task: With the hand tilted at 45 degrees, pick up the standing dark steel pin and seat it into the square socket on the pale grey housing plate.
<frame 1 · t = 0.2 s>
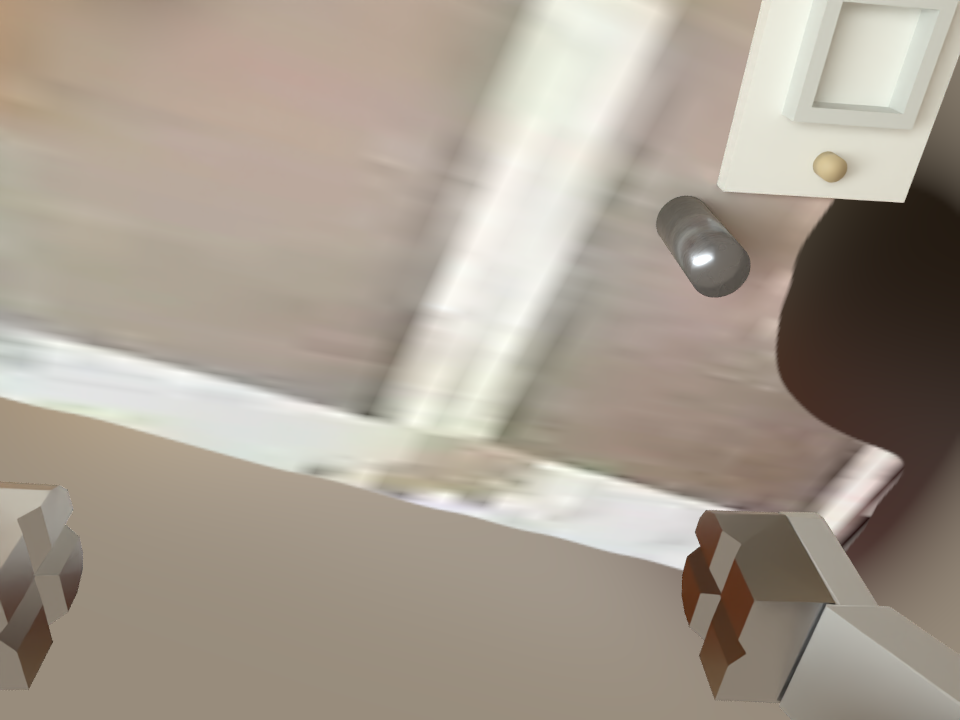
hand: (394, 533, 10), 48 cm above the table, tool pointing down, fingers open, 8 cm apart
housing: (849, 50, 54), on the table
pin: (682, 221, 60), on the table
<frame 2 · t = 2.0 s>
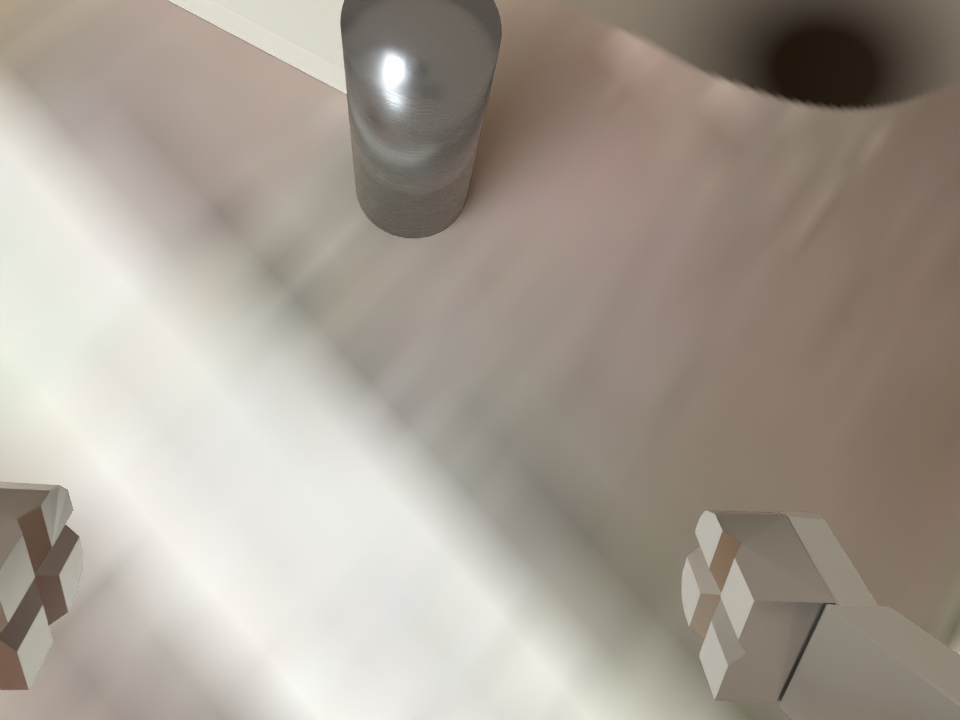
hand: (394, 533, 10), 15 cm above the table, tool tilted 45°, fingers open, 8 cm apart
pin: (411, 186, 28), on the table
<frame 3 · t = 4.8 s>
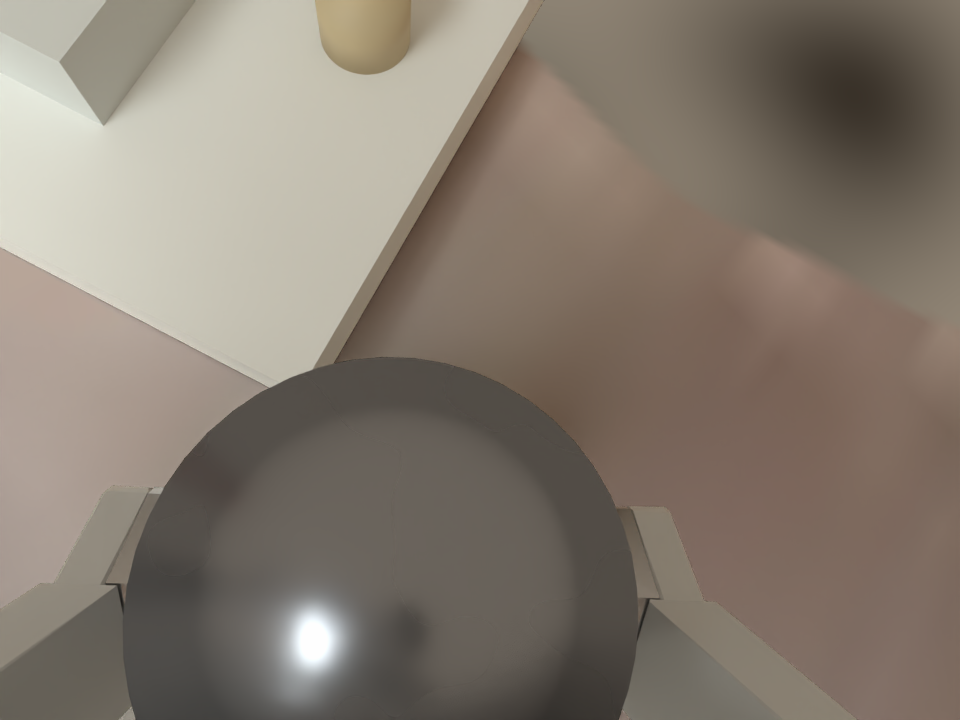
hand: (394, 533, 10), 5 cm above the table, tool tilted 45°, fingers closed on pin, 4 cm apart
pin: (394, 572, 15), on the table, touching gripper
when the fingers open (8 cm above the table, at t = 9.3 s): pin drops 1 cm, resting on housing.
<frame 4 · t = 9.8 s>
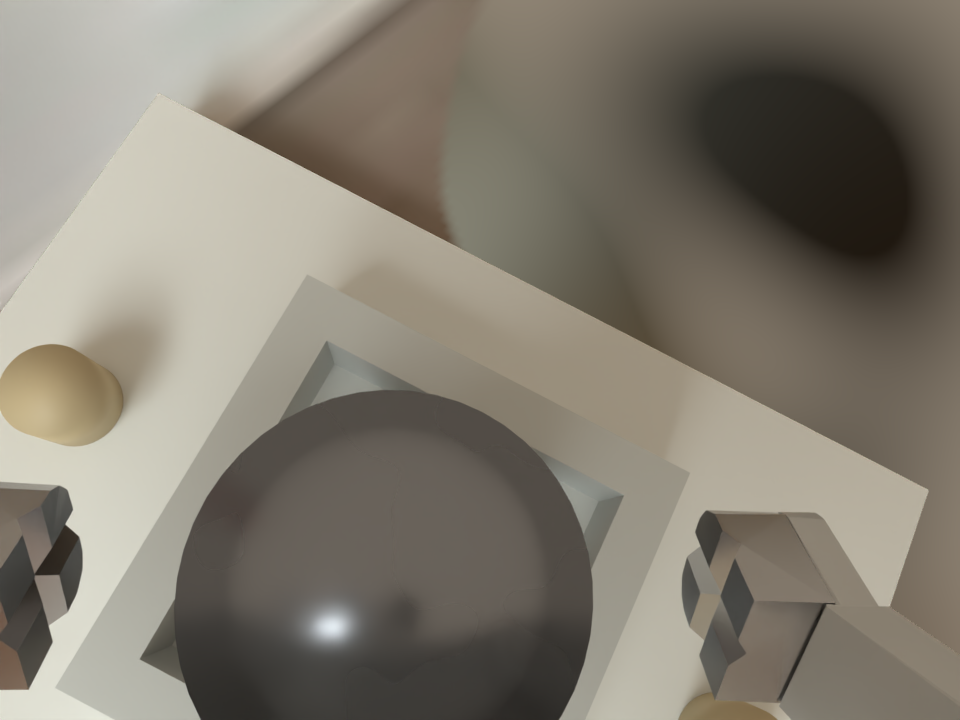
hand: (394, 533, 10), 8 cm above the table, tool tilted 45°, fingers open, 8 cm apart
housing: (395, 568, 18), on the table
pin: (392, 568, 16), point 2 cm above the table, touching housing
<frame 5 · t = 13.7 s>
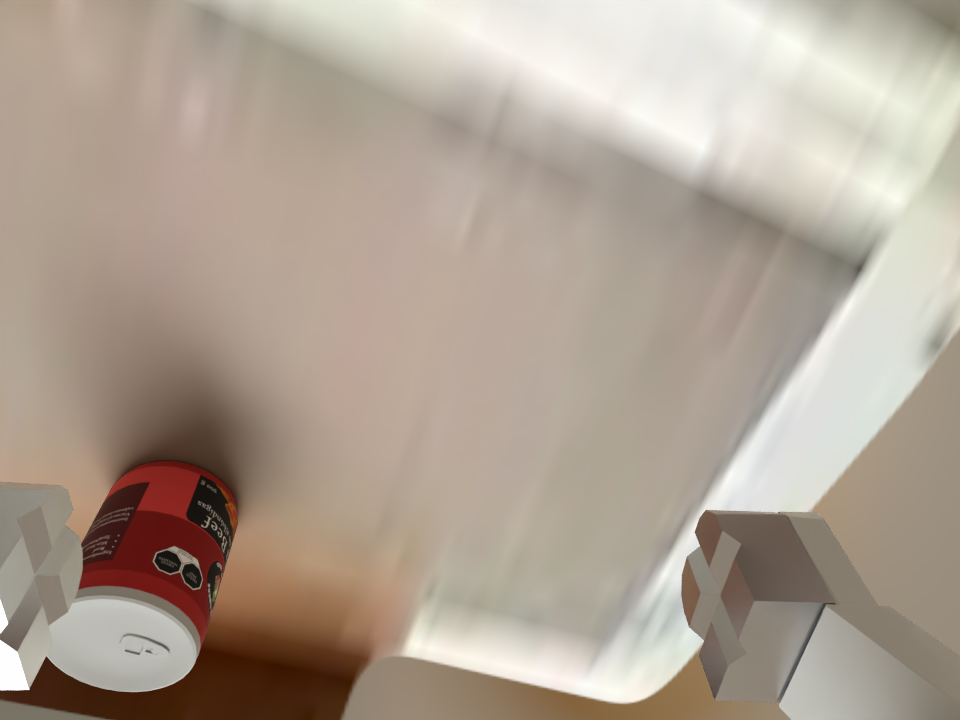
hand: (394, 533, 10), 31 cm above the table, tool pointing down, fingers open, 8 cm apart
canned food: (178, 501, 50), on the table
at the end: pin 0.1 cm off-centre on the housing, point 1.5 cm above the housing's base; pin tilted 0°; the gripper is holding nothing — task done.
